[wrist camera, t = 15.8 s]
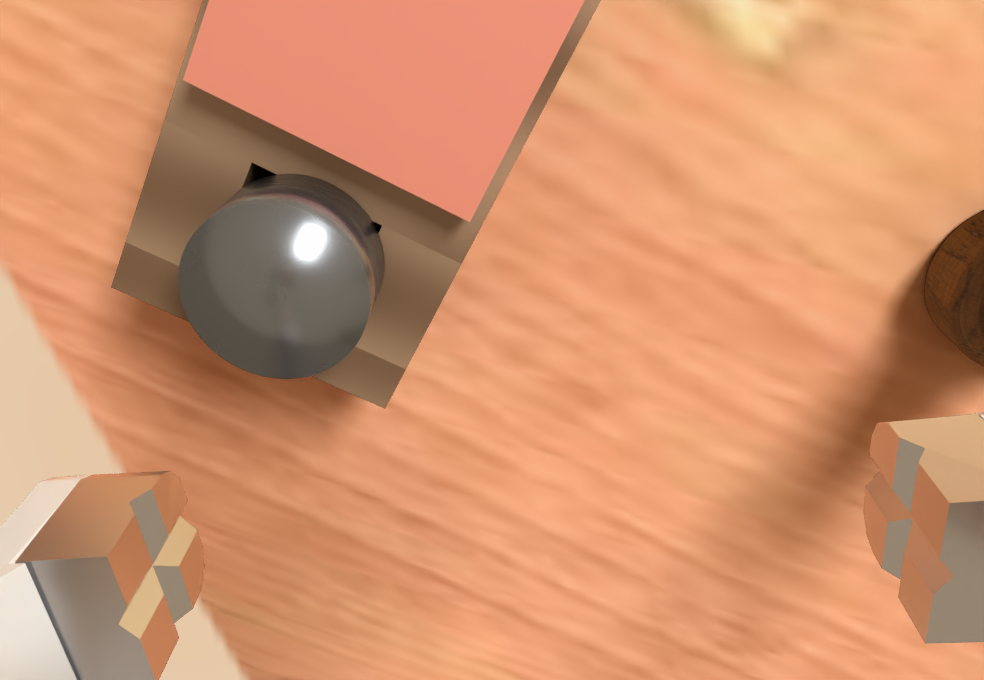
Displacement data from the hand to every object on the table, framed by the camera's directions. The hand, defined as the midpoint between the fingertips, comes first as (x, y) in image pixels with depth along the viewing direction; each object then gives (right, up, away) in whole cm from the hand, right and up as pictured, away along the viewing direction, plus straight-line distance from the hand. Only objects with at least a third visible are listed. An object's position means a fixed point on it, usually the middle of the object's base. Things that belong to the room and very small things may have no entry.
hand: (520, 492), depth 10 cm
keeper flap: (-3, +12, +13) cm, 18 cm away
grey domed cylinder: (-6, +7, +22) cm, 24 cm away
